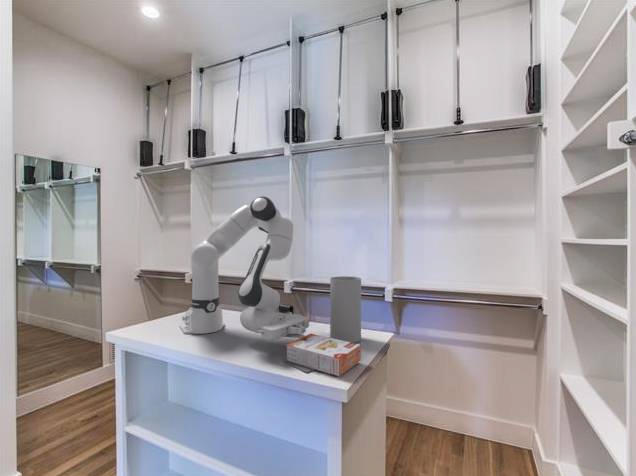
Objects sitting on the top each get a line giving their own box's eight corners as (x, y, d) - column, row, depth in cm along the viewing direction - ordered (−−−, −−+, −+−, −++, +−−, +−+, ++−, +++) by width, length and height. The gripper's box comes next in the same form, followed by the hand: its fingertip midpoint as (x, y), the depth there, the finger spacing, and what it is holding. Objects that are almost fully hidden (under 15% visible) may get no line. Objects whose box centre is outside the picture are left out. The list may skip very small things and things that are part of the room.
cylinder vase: (349, 347, 123) (349, 281, 123) (323, 340, 131) (324, 278, 131) (366, 339, 132) (367, 278, 132) (342, 333, 140) (342, 275, 140)
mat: (283, 362, 108) (283, 361, 108) (318, 350, 119) (318, 349, 119) (306, 373, 99) (306, 372, 99) (342, 360, 110) (342, 358, 110)
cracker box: (310, 332, 119) (361, 343, 107) (310, 348, 119) (361, 361, 107) (285, 343, 107) (340, 358, 95) (285, 361, 107) (340, 378, 96)
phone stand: (283, 336, 136) (284, 307, 136) (273, 333, 139) (273, 306, 139) (298, 331, 143) (298, 304, 143) (288, 329, 146) (288, 302, 146)
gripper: (253, 321, 112) (283, 328, 104) (291, 310, 129) (320, 315, 121) (253, 340, 112) (283, 348, 104) (291, 326, 129) (320, 332, 121)
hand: (303, 330), depth 113 cm, fingers closed
